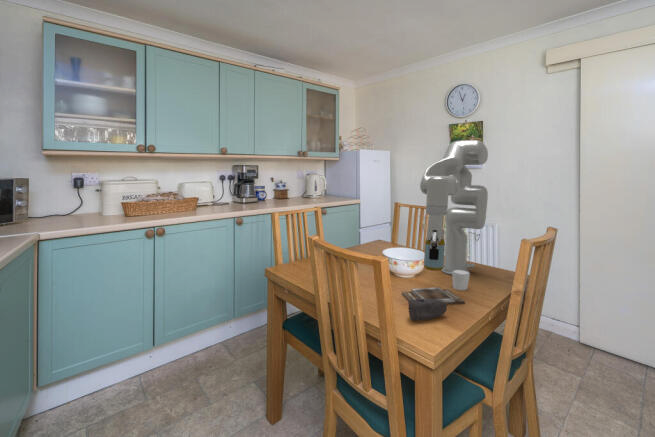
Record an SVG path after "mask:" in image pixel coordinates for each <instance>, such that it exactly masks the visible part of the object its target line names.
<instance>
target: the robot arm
mask: <svg viewBox="0 0 655 437" xmlns="http://www.w3.org/2000/svg"><path fill="white" fill-rule="evenodd" d="M488 157H489V152H488V148H487V147H486V145H485V143H484V142H483V141H482V140H479V139H467V140H466V139H464V140H463V139H462V140H454V141H452V142H451V143H450V144H449V145H448V146H447V149H446V151H445V153H444V156H443V157H442V159H441V160H439V161H436V162H435V163H433V164H431V165H430V166H428V168H426V170H425V171H424V173H423V176H422V178H421V179H420V184H419V186H420V188H419V189H420V190H421V193H422V194H424V195H426V205H425V206H426V207H425V209H426V210H425V214H426V215H428V218H427V229H426V238H427V241H428V240H430V239H431V244H430V251H429V259H431V260H438V256H439V249H438V243H439V242H440V241H441V236H442V230H444V220H445V229H446V230H445V231H446V232H445V248H444V265H443V269H442V270H440V271H441V272H442V273H443V274H446V275H451V276H453V275H452V271H453V270H465V271H468V272H469V273H470V271H469V268H470V269H473V268H475V267H476V264H475V263H470V262H467V247H468V235H467V233H466V232H465V230H464V229H471V230H481V229H483V228H484V227H485V224H486V218H487V210H488V208H487V207H488V199H489V198H488V197H489V195H488V189H487V187H485V186H484V185H476V184H475V185H473V184H472V182H473V181H472V180H473V175H472V172H471V171H470V170H469V168H468V167H467V166H478V165H479V166H481V165H482V166H483V165H484V164H486V163H487V161H488ZM449 196H450V201H451V203H452V204H454V205H458V207H456V206H455V207H450V208H448V206H449ZM459 205H460V206H471V207H459ZM473 206H474V207H475V208H473ZM444 216H445V217H444ZM444 218H445V219H444ZM436 239H437V240H438V241H436Z"/></svg>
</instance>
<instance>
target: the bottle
mask: <svg viewBox="0 0 655 437" xmlns="http://www.w3.org/2000/svg"><path fill="white" fill-rule="evenodd" d="M444 238H445V230H444V229H443V230H442V236H441V241H440V242H439V243H438V249H439V256H438V260H431V259H429V251H430V244H431V239H430V240H428V241H427V237H426V239H425V241H424V259H423V260H424V261H423V266H424V268H425V269H426V270H428V271H433V272H436V271H437V272H438V271H439V272H440V271H441V270H442V269H443V266H444V265H445V247H446V241H445V239H444ZM436 241H438V240H437V239H436Z"/></svg>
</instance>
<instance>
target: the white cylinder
mask: <svg viewBox="0 0 655 437" xmlns="http://www.w3.org/2000/svg"><path fill="white" fill-rule="evenodd" d="M468 271H469V270H468ZM468 271H465V270H453V271H452V275H451V276H452V288H453V289H455V290H458V291H466V290H468V286H469V281H470V277H471V273H470V271H469V272H468Z"/></svg>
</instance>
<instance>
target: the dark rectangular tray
mask: <svg viewBox="0 0 655 437" xmlns="http://www.w3.org/2000/svg"><path fill="white" fill-rule="evenodd" d="M401 295H402V297H404V298H405V299H406V300H407V302H408V301H409V300H413V299H435V300H439V301H442V302H444V303H445V304H446V306H448V305H464V304H466V301H465V300H464V298H463V299H462V298H461V296H459V295H458V294H456V293H455V292H454V291H452V290H450V289H448V288H443V289H442V288H441V287H439V286H438V287H437V286H436V287H424V288H423V287H422V288H411V291H402V292H401Z"/></svg>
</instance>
